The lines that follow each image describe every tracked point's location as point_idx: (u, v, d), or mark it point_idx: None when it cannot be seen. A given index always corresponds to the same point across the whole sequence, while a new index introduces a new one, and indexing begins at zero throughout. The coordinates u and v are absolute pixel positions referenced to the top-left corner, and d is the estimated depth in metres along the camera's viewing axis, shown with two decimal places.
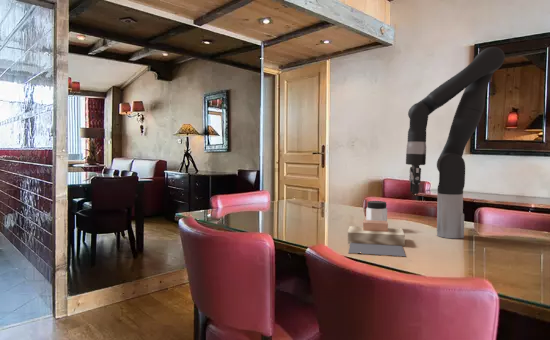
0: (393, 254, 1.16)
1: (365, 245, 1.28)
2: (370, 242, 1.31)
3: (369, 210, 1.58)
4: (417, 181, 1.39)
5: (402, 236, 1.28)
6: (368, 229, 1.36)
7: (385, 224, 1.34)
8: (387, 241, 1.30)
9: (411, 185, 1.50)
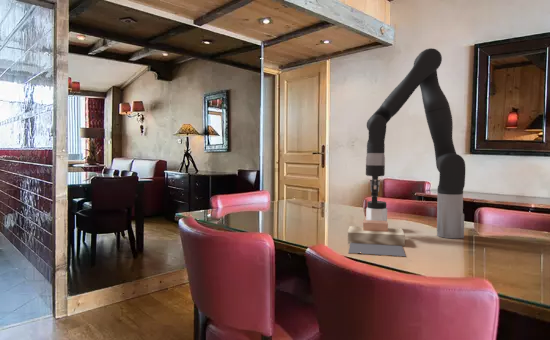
0: (393, 254, 1.16)
1: (365, 245, 1.28)
2: (370, 242, 1.31)
3: (369, 210, 1.58)
4: (375, 194, 1.45)
5: (402, 236, 1.28)
6: (368, 229, 1.36)
7: (385, 224, 1.34)
8: (387, 241, 1.30)
9: None
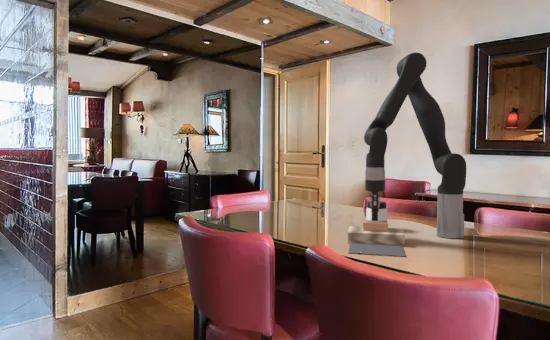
0: (393, 254, 1.16)
1: (365, 245, 1.28)
2: (370, 242, 1.31)
3: (369, 210, 1.58)
4: (375, 210, 1.39)
5: (402, 236, 1.28)
6: (368, 229, 1.36)
7: (385, 224, 1.34)
8: (387, 241, 1.30)
9: None
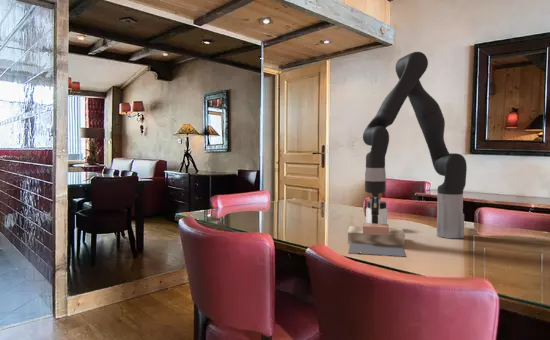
0: (393, 254, 1.16)
1: (365, 245, 1.28)
2: (370, 242, 1.31)
3: (369, 210, 1.58)
4: (375, 213, 1.32)
5: (402, 236, 1.28)
6: (368, 233, 1.29)
7: (386, 228, 1.27)
8: (387, 241, 1.30)
9: None
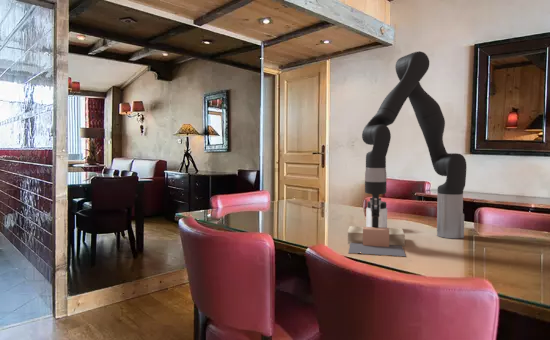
0: (393, 254, 1.16)
1: (365, 245, 1.28)
2: None
3: (369, 210, 1.58)
4: (376, 215, 1.27)
5: (402, 236, 1.28)
6: None
7: None
8: None
9: None
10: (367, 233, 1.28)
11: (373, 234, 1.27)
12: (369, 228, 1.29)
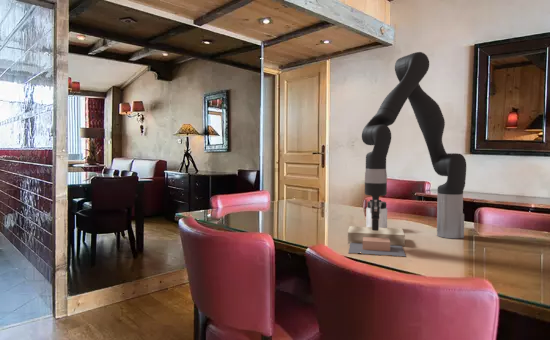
0: (393, 254, 1.16)
1: None
2: None
3: (369, 210, 1.58)
4: (376, 217, 1.24)
5: (402, 236, 1.28)
6: None
7: None
8: None
9: None
10: None
11: None
12: (369, 244, 1.22)
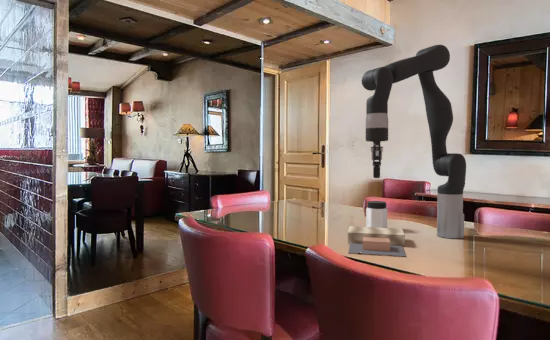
0: (393, 254, 1.16)
1: None
2: None
3: (369, 210, 1.58)
4: (377, 163, 1.20)
5: (402, 236, 1.28)
6: None
7: None
8: None
9: None
10: None
11: None
12: (369, 244, 1.22)
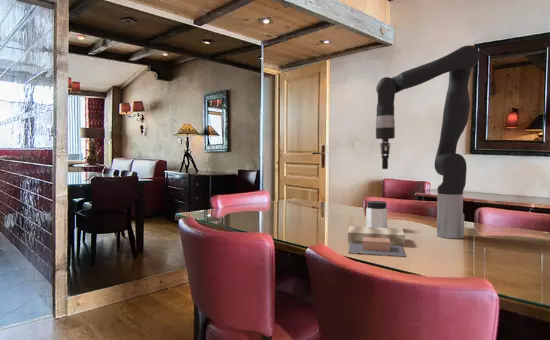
0: (393, 254, 1.16)
1: None
2: None
3: (369, 210, 1.58)
4: (385, 156, 1.46)
5: (402, 236, 1.28)
6: None
7: None
8: None
9: None
10: None
11: None
12: (369, 244, 1.22)
